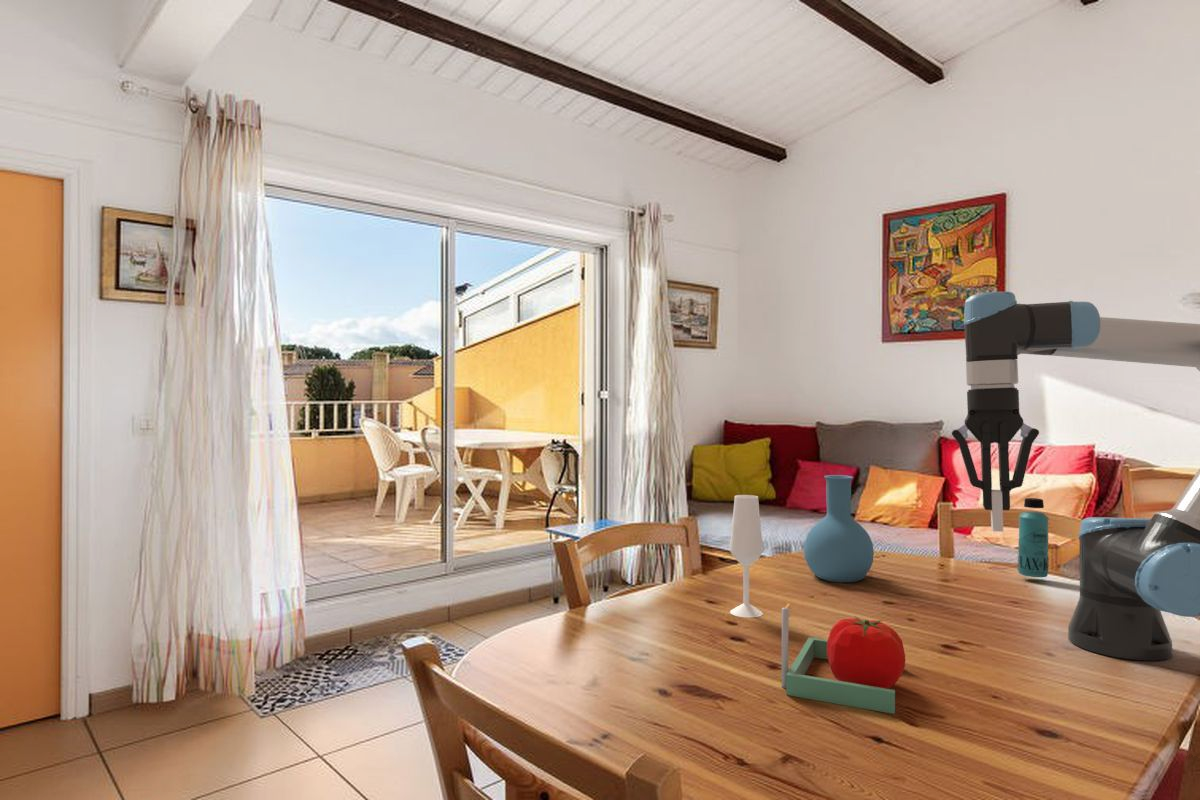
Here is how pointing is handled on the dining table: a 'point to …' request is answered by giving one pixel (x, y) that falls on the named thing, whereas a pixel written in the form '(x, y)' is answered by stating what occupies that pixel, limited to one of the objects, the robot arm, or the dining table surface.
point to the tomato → (865, 653)
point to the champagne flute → (746, 545)
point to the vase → (838, 538)
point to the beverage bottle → (1033, 541)
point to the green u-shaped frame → (823, 687)
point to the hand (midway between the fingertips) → (997, 529)
